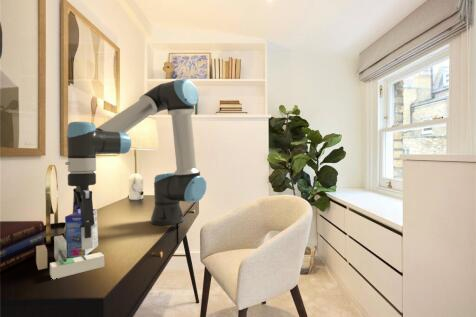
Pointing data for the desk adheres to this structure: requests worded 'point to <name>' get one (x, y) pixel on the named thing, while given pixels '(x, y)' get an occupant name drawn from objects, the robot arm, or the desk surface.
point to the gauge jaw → (60, 248)
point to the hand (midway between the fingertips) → (82, 244)
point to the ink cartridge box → (78, 234)
